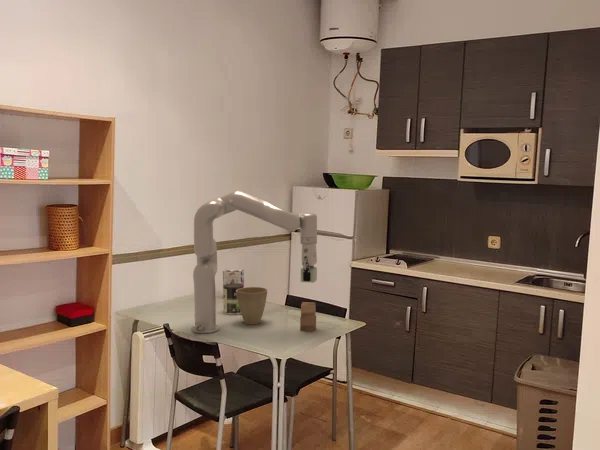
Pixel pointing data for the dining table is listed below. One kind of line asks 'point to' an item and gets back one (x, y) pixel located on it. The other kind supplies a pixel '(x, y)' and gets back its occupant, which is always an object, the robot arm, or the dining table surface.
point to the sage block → (312, 274)
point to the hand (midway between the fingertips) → (308, 279)
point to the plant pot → (252, 303)
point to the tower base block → (307, 324)
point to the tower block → (308, 310)
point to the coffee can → (231, 299)
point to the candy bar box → (233, 277)
